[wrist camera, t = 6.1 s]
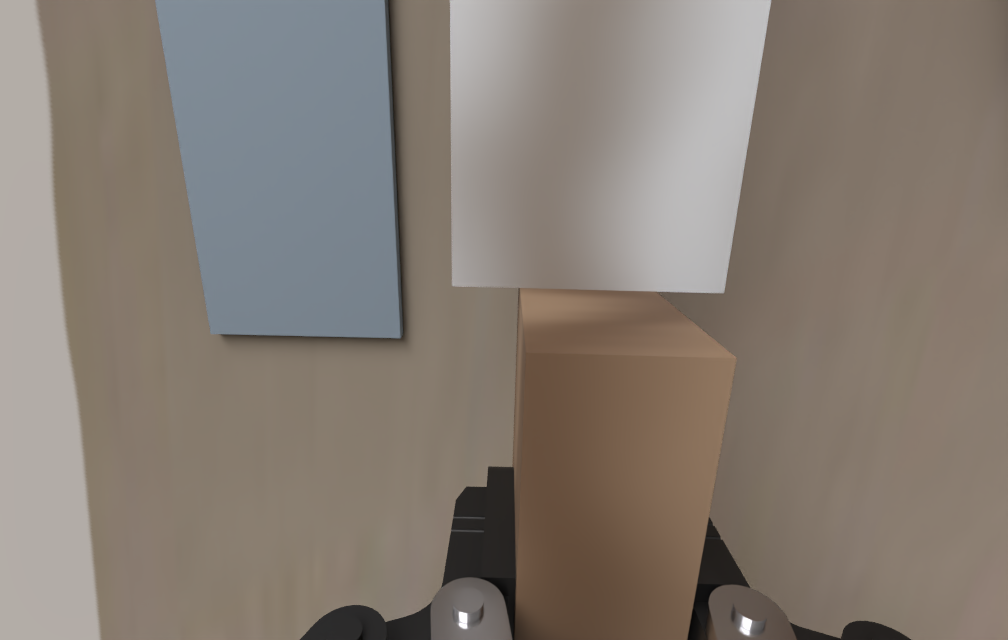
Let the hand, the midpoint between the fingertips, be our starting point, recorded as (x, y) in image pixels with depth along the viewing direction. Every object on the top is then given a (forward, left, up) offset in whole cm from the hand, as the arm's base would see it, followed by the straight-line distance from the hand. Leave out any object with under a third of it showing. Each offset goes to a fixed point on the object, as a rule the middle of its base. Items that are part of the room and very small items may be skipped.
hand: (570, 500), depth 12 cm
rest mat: (+11, -11, -12) cm, 20 cm away
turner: (0, -4, -1) cm, 4 cm away
